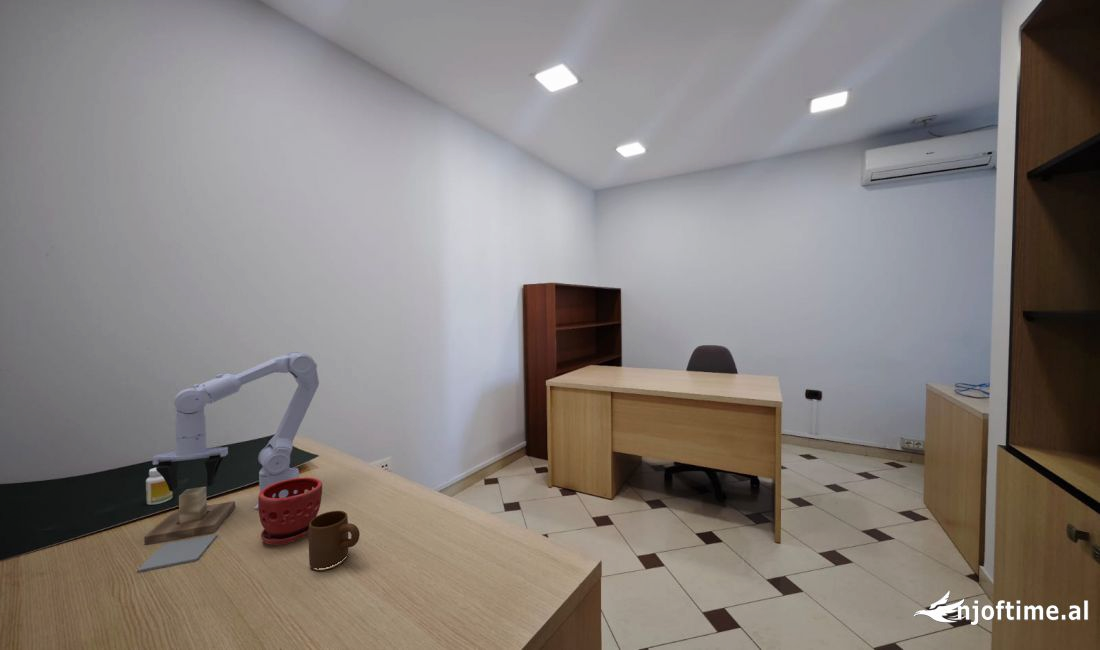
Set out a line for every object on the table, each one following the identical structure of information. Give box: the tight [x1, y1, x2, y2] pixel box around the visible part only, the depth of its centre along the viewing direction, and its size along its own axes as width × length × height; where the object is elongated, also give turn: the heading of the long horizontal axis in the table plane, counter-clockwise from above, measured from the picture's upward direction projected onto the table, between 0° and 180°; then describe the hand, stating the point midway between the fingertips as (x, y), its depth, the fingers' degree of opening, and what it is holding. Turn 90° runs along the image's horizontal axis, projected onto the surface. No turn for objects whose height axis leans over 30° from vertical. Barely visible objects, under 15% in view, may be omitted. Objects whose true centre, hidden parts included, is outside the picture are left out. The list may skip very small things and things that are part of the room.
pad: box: [136, 534, 218, 573], centre depth 86 cm, size 10×10×1 cm
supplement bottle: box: [145, 467, 174, 506], centre depth 111 cm, size 5×5×10 cm
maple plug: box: [178, 486, 208, 524], centre depth 98 cm, size 4×4×9 cm
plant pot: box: [257, 477, 323, 546], centre depth 94 cm, size 13×13×12 cm
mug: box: [307, 510, 360, 569], centre depth 83 cm, size 12×8×9 cm, turn 73°
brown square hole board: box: [143, 500, 236, 546], centre depth 98 cm, size 13×13×2 cm
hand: (192, 486), depth 98 cm, fingers open, 7 cm apart
